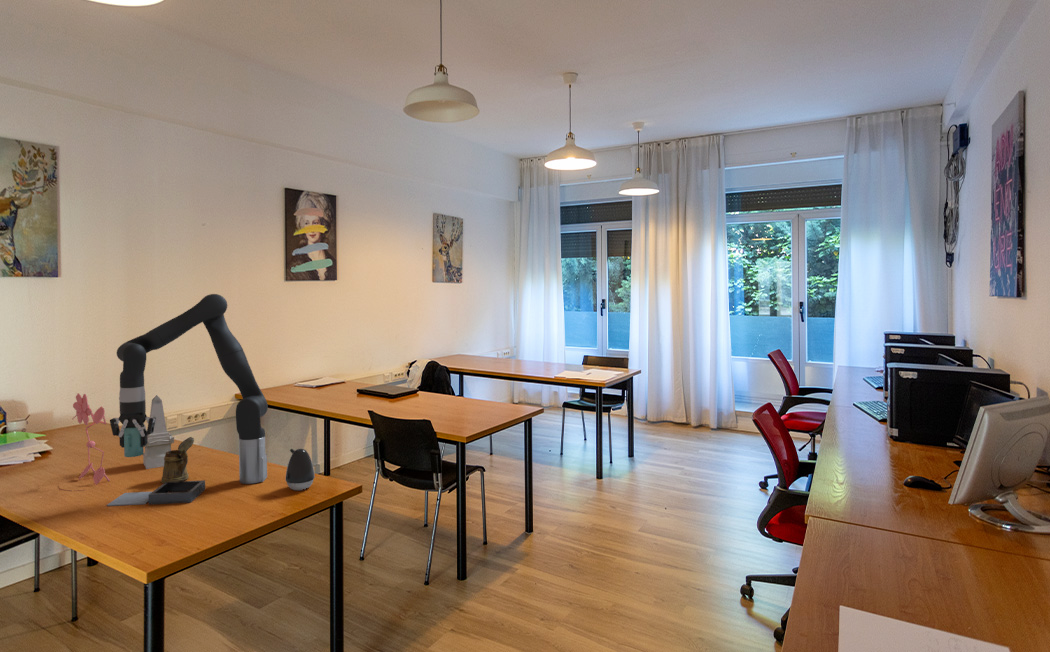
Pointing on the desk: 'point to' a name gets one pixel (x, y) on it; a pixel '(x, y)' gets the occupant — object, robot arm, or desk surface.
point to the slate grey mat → (131, 499)
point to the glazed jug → (132, 442)
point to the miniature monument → (157, 438)
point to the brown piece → (177, 463)
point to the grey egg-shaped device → (299, 470)
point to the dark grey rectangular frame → (177, 492)
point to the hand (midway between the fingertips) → (133, 446)
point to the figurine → (83, 413)
